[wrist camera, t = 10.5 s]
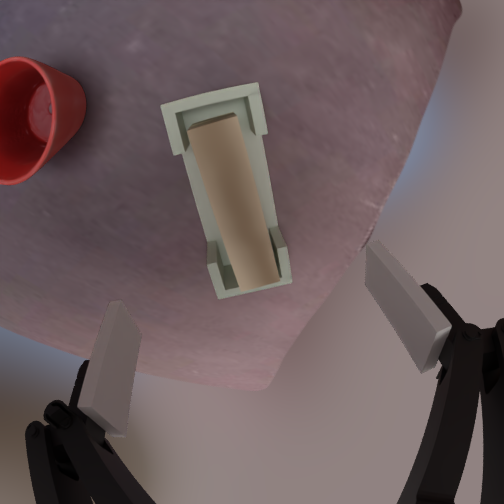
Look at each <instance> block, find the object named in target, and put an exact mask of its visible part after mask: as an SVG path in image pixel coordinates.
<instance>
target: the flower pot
mask: <svg viewBox="0 0 504 504" xmlns="http://www.w3.org/2000/svg"><path fill="white" fill-rule="evenodd" d="M85 113H86V97H85V93H84V91H83V88H82V87H81V85H80V84H79V82H78V81H76V80H75V79H74V78H72V77H70V76H68V75H66V74H64V73H62V72H60V71H58V70H56V69H54V68H52V67H50V66H48V65H46V64H43V63H41V62H39V61H36V60H33V59H30V58H27V57H11V58H7V59H5V60H2V61H0V184H2V185H15V184H19V183H21V182H23V181H25V180H27V179H29V178H30V177H31V176H33V175H34V174H35V173H36V172H37V171H38V170H39V169H41V168H42V167H43V166H44V165H45V164H46V163H47V162H48V161H49V160H50V159H51V158H52V157H53V156H54V155H55V154H56V153H57V152H58V151H59V150H60V149H61V148H62V147H63V146H64V145H65V144H66V143H67V142H68V141H69V140H70V139H71V138H72V137H73V136H74V135H75V134H76V132H77V131H78V130H79V128H80V126H81V125H82V123H83V120H84V117H85Z"/></svg>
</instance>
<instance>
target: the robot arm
mask: <svg viewBox="0 0 504 504" xmlns="http://www.w3.org/2000/svg"><path fill="white" fill-rule="evenodd" d="M365 273H366V274H365V285H366V287H367V288H368V290H369V291H370V293H371V294H372V296H373V297H374V299H375V300H376V302H377V303H378V305H379V306H380V308H381V309H382V311H383V313H384V314H385V315H386V317H387V319H388V320H389V322H390V323H391V325H392V326H393V328H394V330H395V331H396V333H397V335H398V336H399V338H400V339H401V341H402V343H403V344H404V346H405V347H406V349H407V351H408V352H409V354H410V355H411V357H412V359H413V361H414V362H415V364H416V366H417V368H418V369H419V371H420V373H424V372H426V371H428V370H430V369H432V368H434V367H435V366H436V364H437V361H438V359H439V361H440V362H441V364H442V367H441V369H440V371H439V373H438V375H437V377H436V379H438V378H439V379H438V384H437V388H436V392H435V396H434V401H433V405H432V408H431V412H430V416H429V419H428V423H427V426H426V429H425V433H424V436H423V439H422V442H421V445H420V448H419V451H418V454H417V456H416V459H415V462H414V465H413V467H412V470H411V472H410V475H409V477H408V480H407V482H406V485H405V487H404V489H403V491H402V494H401V496H400V498H399V500H398V502H397V504H455V503H454V498H455V495H456V492H457V489H458V486H459V483H460V480H461V477H462V473H463V470H464V467H465V463H466V459H467V455H468V451H469V447H470V443H471V438H472V434H473V429H474V424H475V419H476V413H477V407H478V399H479V392H480V394H481V404H482V418H483V444H484V445H483V481H482V493H481V503H480V504H504V318H502V319H500V320H498V322H497V323H496V326H495V327H493V328H487V329H480V328H479V327H477V326H476V325H474V324H471V323H465V322H464V321H463V320H462V318H461V317H460V316H459V315H458V313H457V312H456V311H455V310H454V309H453V307H452V306H451V305H450V304H449V303H448V302H447V300H446V299H445V298H444V297H442V295H441V293H440V292H439V291H438V290H437V289H436V288H435V287H433V286H431V285H429V284H428V283H426V284H423V285H421V286H420V285H419V284H418V283H417V282H416V281H415V280H414V279H413V277H412V276H411V275H410V274H409V273H408V272H407V270H406V269H405V268H404V267H403V266H402V265H401V264H400V263H399V262H398V260H397V259H396V258H395V257H394V256H393V255H392V254H391V253H390V252H389V250H388V249H387V248H386V247H385V246H384V245H383V244H382V243H381V242H380V241H379V240H378V241H374V242H370V243H366V272H365ZM141 337H142V334H141V333H140V331H139V329H138V328H137V326H136V324H135V323H134V321H133V319H132V317H131V316H130V314H129V312H128V310H127V309H126V307H125V305H124V303H123V302H122V300H117V301H112V302H109V305H108V308H107V310H106V313H105V316H104V319H103V322H102V324H101V327H100V330H99V333H98V336H97V339H96V342H95V345H94V349H93V352H92V355H91V358H90V360H85V361H84V362H83V364H82V365H81V367H80V368H79V371H78V374H77V379H76V381H75V386H74V388H73V392H72V395H71V399H70V403H69V406H67V405H66V404H65V403H64V402H63V401H60V400H54V401H52V402H51V403H49V404H48V405H47V407H46V409H45V411H44V420H45V421H46V422H47V423H49V425H46V426H44V425H43V424H42V423H41V422H39V421H33V422H32V423H30V424H29V425H28V427H27V429H26V432H25V440H26V449H27V457H28V463H29V469H30V476H31V481H32V487H33V491H34V496H35V500H36V504H93V502H92V499H93V500H94V502H95V504H156V503H155V502H154V501H153V500H152V498H151V497H150V496H149V495H148V494H147V493H146V491H145V490H144V489H143V488H142V486H141V485H140V484H139V483H138V482H137V480H136V479H135V478H134V476H133V475H132V474H131V472H130V471H129V470H128V469H127V467H126V466H125V464H124V463H123V462H122V461H121V459H120V458H119V456H118V455H117V453H116V452H115V450H114V449H113V447H112V446H111V445H110V443H109V441H108V440H107V439H106V438H105V431H106V432H107V433H108V434H109V435H111V436H112V437H126V433H127V425H128V417H129V409H130V401H131V395H132V388H133V382H134V376H135V370H136V364H137V358H138V353H139V347H140V342H141ZM91 497H92V499H91Z"/></svg>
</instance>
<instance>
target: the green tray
mask: <svg viewBox="0 0 504 504" xmlns="http://www.w3.org/2000/svg"><path fill="white" fill-rule="evenodd" d="M160 106H161V110H162V114H163V118H164V122H165V126H166V129H167V133H168V137H169V141H170V144H171V148H172V152H173V155H174V156H175V155H178V154H182V156H183V160H184V163H185V167H186V171H187V174H188V178H189V181H190V185H191V188H192V192H193V196H194V199H195V202H196V206H197V209H198V213H199V216H200V220H201V223H202V226H203V230H204V233H205V236H206V240H207V267H208V270H209V273H210V276H211V279H212V282H213V285H214V288H215V291H216V294H217V297H218V299H223V298H227V297H232V296H237V295H241V294H246V293H250V292H255V291H259V290H263V289H268V288H272V287H277V286H281V285H285V284H289V283H292V276H291V269H290V262H289V256H288V249H287V245H286V243H285V241H284V238H283V236H282V234H281V232H280V229H279V227H278V223H277V217H276V211H275V205H274V199H273V194H272V188H271V183H270V177H269V172H268V166H267V161H266V155H265V150H264V145H263V140H262V135H264V134H268V131H267V126H266V120H265V115H264V110H263V105H262V100H261V95H260V90H259V85H258V82H257V83H251V84H246V85H240V86H235V87H230V88H225V89H221V90H216V91H212V92H208V93H203V94H199V95H195V96H191V97H188V98H184V99H180V100H177V101H173V102H170V103H166V104H163V105H160ZM230 112H234V113H235V114H236V115H237V117H238V121H239V125H240V128H241V132H242V136H243V139H244V143H245V147H246V150H247V154H248V158H249V161H250V165H251V169H252V173H253V176H254V180H255V184H256V188H257V191H258V195H259V199H260V203H261V207H262V211H263V214H264V218H265V222H266V226H267V230H268V234H269V238H270V242H271V246H272V250H273V254H274V258H275V262H276V266H277V270H278V274H279V278H280V281H279V282H276V283H272V284H269V285H265V286H261V287H258V288H254V289H250V290H247V291H243V292H241V291H240V288H239V285H238V282H237V279H236V277H235V274H234V271H233V268H232V265H231V262H230V259H229V257H228V254H227V251H226V248H225V245H224V242H223V239H222V236H221V233H220V230H219V228H218V225H217V222H216V219H215V216H214V213H213V210H212V207H211V204H210V201H209V198H208V195H207V192H206V189H205V186H204V183H203V180H202V177H201V174H200V171H199V168H198V165H197V162H196V158H195V155H194V152H193V149H192V146H191V143H190V140H189V137H188V134H187V130H188V129H189V127H190V126H191V125H192V124H193V123H196V122H199V121H203V120H206V119H209V118H213V117H216V116H220V115H223V114H227V113H230Z"/></svg>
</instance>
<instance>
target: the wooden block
mask: <svg viewBox="0 0 504 504" xmlns="http://www.w3.org/2000/svg"><path fill="white" fill-rule="evenodd" d="M187 134H188V137H189V140H190V143H191V146H192V149H193V152H194V155H195V158H196V162H197V165H198V168H199V171H200V174H201V177H202V180H203V183H204V186H205V189H206V192H207V195H208V198H209V201H210V204H211V207H212V210H213V213H214V216H215V219H216V222H217V225H218V228H219V230H220V233H221V236H222V239H223V242H224V245H225V248H226V251H227V254H228V257H229V259H230V262H231V265H232V268H233V271H234V274H235V277H236V279H237V282H238V285H239V288H240V291H241V292H243V291H247V290H250V289H254V288H258V287H261V286H265V285H269V284H272V283H276V282H279V281H280V278H279V274H278V270H277V266H276V262H275V258H274V254H273V250H272V246H271V242H270V238H269V234H268V230H267V226H266V222H265V218H264V214H263V211H262V207H261V203H260V199H259V195H258V191H257V188H256V184H255V180H254V176H253V173H252V169H251V165H250V161H249V158H248V154H247V150H246V147H245V143H244V139H243V136H242V132H241V128H240V125H239V121H238V117H237V115H236V114H235V113H234V112H230V113H227V114H223V115H220V116H216V117H213V118H209V119H206V120H203V121H199V122H196V123H193V124H192V125H191V126H190V127H189V129H188V130H187Z"/></svg>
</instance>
